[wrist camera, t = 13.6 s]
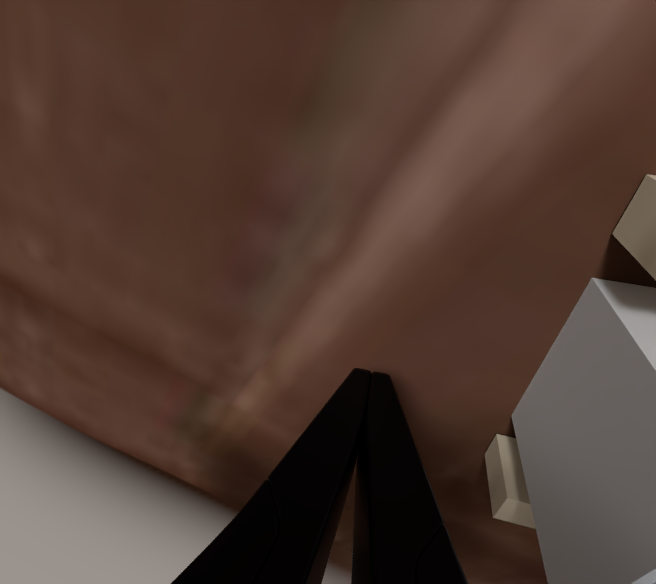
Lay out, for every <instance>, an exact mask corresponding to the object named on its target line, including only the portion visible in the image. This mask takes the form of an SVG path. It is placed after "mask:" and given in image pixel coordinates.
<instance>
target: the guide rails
mask: <svg viewBox="0 0 656 584" xmlns="http://www.w3.org/2000/svg"><path fill="white" fill-rule="evenodd" d="M612 234H613V235H614V237H615V238H616V239H617V240H618V241H619V242H620V243H621V244H622V245H623V246H624V247H625V248H626V249H627V250H628V251H629V252H630V254H631V255H632V256H633V257H634V258H635V259H636V260H637V261H638V262H639V263H640V264H641V265H642V266H643V267H644V268H645V269H646V271H647V272H648V273H649V274H650V275H651V276H652V277H653V278H654V279H655V280H656V176H655V175H647V174H646V176H645V178H644V180H643V181H642V183H641V185H640V187H639V188H638V190H637V192H636V193H635V195H634V197H633V199H632V200H631V202H630V204H629V206H628V207H627V209H626V211H625V212H624V214H623V216H622V218H621V219H620V221H619V223H618V225H617V226H616V228H615V230H614V231H613V233H612ZM485 461H486V469H487V477H488V484H489V492H490V499H491V507H492V515H493V518H496V519H500V520H503V521H507V522H511V523H515V524H519V525H522V526H526V527H530V528H534V529H536V527H535V523H534V518H533V513H532V509H531V504H530V500H529V495H528V490H527V486H526V481H525V477H524V472H523V467H522V463H521V458H520V453H519V449H518V444H517V440H516V438H512V437H508V436H504V435H499V434H496V436H495V437H494V439H493V441H492V443H491V444H490V446H489V448H488V449H487V451H486V453H485Z"/></svg>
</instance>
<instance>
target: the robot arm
mask: <svg viewBox="0 0 656 584" xmlns="http://www.w3.org/2000/svg"><path fill="white" fill-rule="evenodd" d="M358 450H359V451H358ZM357 455H358V458H357ZM356 460H357V466H356V484H355V508H354V531H353V555H352V580H351V581H352V582H351V584H468V582H467V579H466V577H465V574H464V572H463V569H462V567H461V564H460V562H459V559H458V557H457V554H456V552H455V549H454V547H453V544H452V541H451V539H450V536H449V533H448V531H447V528H446V526H445V525H443V523H444V520H443V518H442V515H441V512H440V510H439V507H438V504H437V501H436V499H435V496H434V493H433V491H432V488H431V485H430V483H429V480H428V477H427V474H426V472H425V469H424V466H423V464H422V461H421V458H420V456H419V453H418V450H417V447H416V445H415V442H414V439H413V437H412V434H411V431H410V429H409V426H408V423H407V420H406V418H405V415H404V412H403V410H402V407H401V404H400V402H399V399H398V396H397V393H396V391H395V388H394V385H393V383H392V380H391V377H390V376H389V375H388V374H385V373H380V372H372V374H371V372H370V371H369V370H365V369H360V368H354V369H353V370H352V371H351V373H350V374H349V375H348V376H347V378H346V379H345V380H344V381H343V383H342V384H341V385H340V386H339V388H338V389H337V390H336V392H335V393H334V394H333V395H332V397H331V398H330V399H329V400H328V402H327V403H326V404H325V405H324V407H323V408H322V409H321V411H320V412H319V413H318V414H317V416H316V417H315V418H314V419H313V421H312V422H311V423H310V424H309V426H308V427H307V428H306V430H305V431H304V432H303V433H302V435H301V436H300V437H299V438H298V440H297V441H296V442H295V443H294V445H293V446H292V447H291V449H290V450H289V451H288V452H287V454H286V455H285V456H284V457H283V459H282V460H281V461H280V462H279V464H278V465H277V466H276V467H275V469H274V470H273V471H272V473H271V474H270V475H269V476H268V480H265V481H264V482H263V484H262V485H261V486H260V487H259V489H258V490H257V491H256V492H255V494H254V495H253V496H252V497H251V499H250V500H249V501H248V502H247V503H246V505H245V506H244V507H243V508H242V509H241V511H240V512H239V513H238V514H237V515H236V516H235V518H234V519H233V520H232V521H231V522H230V523H229V524H228V525H227V527H225V528H224V530H223V531H222V532H221V533H220V534H219V535H218V536H217V537H216V538H215V539H214V540H213V541H212V542H211V543H210V545H208V547H206V548H205V550H204V551H203V552H202V553H201V554H200V555H199V556H198V557H197V558H196V559H195V560H194V561H193V562H192V563H191V564H190V565H189V566H188V567H187V568H186V569H185V570H184V571H183V572H182V573H181V574H180V575H179V576H178V577H177V578H176V579H175V580H174V581H173V582H172V583H171V584H321V583H322V579H323V576H324V572H325V569H326V565H327V562H328V559H329V555H330V552H331V548H332V545H333V541H334V538H335V535H336V531H337V528H338V524H339V521H340V517H341V514H342V510H343V507H344V504H345V500H346V497H347V493H348V490H349V486H350V483H351V479H352V476H353V472H354V469H355V465H356Z"/></svg>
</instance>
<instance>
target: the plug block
mask: <svg viewBox="0 0 656 584" xmlns="http://www.w3.org/2000/svg"><path fill="white" fill-rule="evenodd" d="M511 417H512V421H513V426H514V430H515V435H516V440H517V444H518V449H519V453H520V458H521V463H522V467H523V472H524V477H525V481H526V486H527V490H528V495H529V500H530V504H531V509H532V513H533V518H534V523H535V527H536V532H537V536H538V541H539V546H540V550H541V555H542V559H543V564H544V569H545V573H546V578H547V582H548V584H656V288H654V287H647V286H641V285H635V284H628V283H622V282H615V281H609V280H603V279H596V278H591V280H590V282H589V284H588V285H587V287H586V289H585V290H584V292H583V294H582V296H581V297H580V299H579V301H578V302H577V304H576V306H575V308H574V309H573V311H572V313H571V314H570V316H569V318H568V320H567V321H566V323H565V325H564V326H563V328H562V330H561V332H560V333H559V335H558V337H557V338H556V340H555V342H554V344H553V345H552V347H551V349H550V350H549V352H548V354H547V356H546V357H545V359H544V361H543V362H542V364H541V366H540V367H539V369H538V371H537V373H536V374H535V376H534V378H533V379H532V381H531V383H530V385H529V386H528V388H527V390H526V391H525V393H524V395H523V397H522V398H521V400H520V402H519V403H518V405H517V407H516V409H515V410H514V412H513V414H512V415H511Z"/></svg>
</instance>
